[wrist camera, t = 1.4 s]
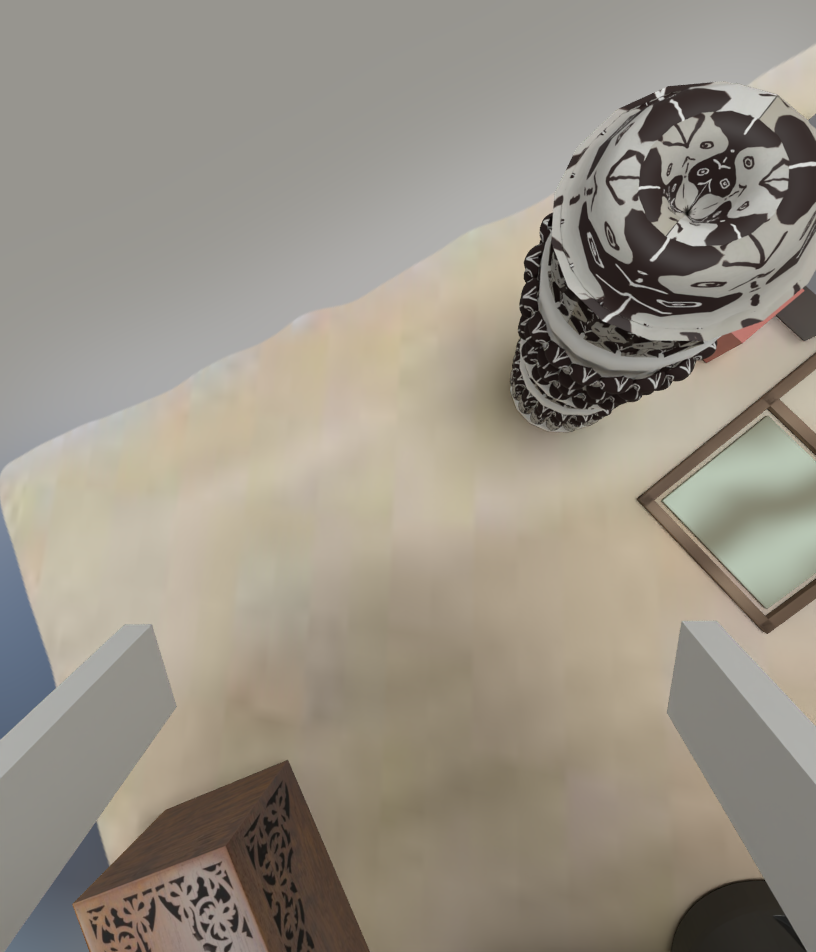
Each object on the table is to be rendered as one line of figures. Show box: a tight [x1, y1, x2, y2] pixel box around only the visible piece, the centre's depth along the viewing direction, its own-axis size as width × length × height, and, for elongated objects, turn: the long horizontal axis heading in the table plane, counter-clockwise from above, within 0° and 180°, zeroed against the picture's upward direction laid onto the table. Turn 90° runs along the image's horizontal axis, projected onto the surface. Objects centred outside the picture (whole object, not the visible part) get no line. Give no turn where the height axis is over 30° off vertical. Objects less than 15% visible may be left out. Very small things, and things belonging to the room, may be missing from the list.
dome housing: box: [703, 114, 816, 363], centre depth 31 cm, size 12×18×6 cm, turn 132°
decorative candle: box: [510, 81, 816, 432], centre depth 24 cm, size 9×9×25 cm
